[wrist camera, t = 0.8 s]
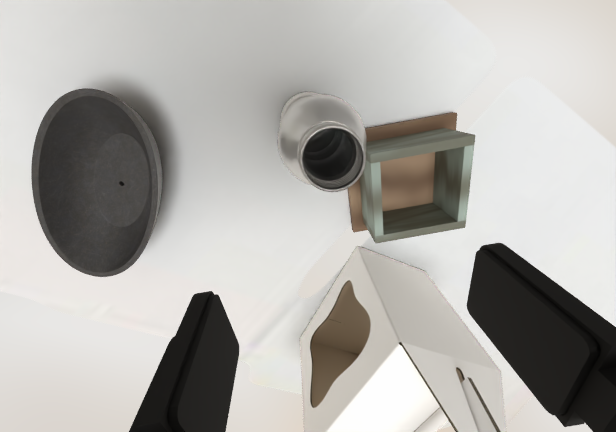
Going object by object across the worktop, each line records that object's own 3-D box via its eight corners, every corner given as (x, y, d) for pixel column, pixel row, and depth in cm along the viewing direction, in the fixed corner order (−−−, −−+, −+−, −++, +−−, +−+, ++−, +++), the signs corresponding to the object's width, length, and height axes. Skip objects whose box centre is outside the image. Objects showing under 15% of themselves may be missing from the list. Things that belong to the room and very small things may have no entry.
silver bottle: (308, 78, 30) (338, 58, 12) (345, 123, 32) (416, 163, 14) (269, 119, 32) (243, 155, 14) (307, 159, 34) (328, 236, 16)
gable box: (360, 355, 51) (429, 610, 26) (298, 339, 48) (309, 610, 23) (426, 269, 43) (619, 519, 18) (357, 243, 40) (473, 499, 15)
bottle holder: (342, 132, 33) (354, 142, 27) (452, 112, 33) (491, 117, 26) (352, 229, 39) (364, 255, 33) (445, 212, 39) (476, 235, 32)
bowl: (193, 112, 31) (172, 117, 25) (164, 259, 39) (143, 287, 34) (79, 68, 28) (27, 63, 23) (73, 236, 37) (34, 262, 31)
